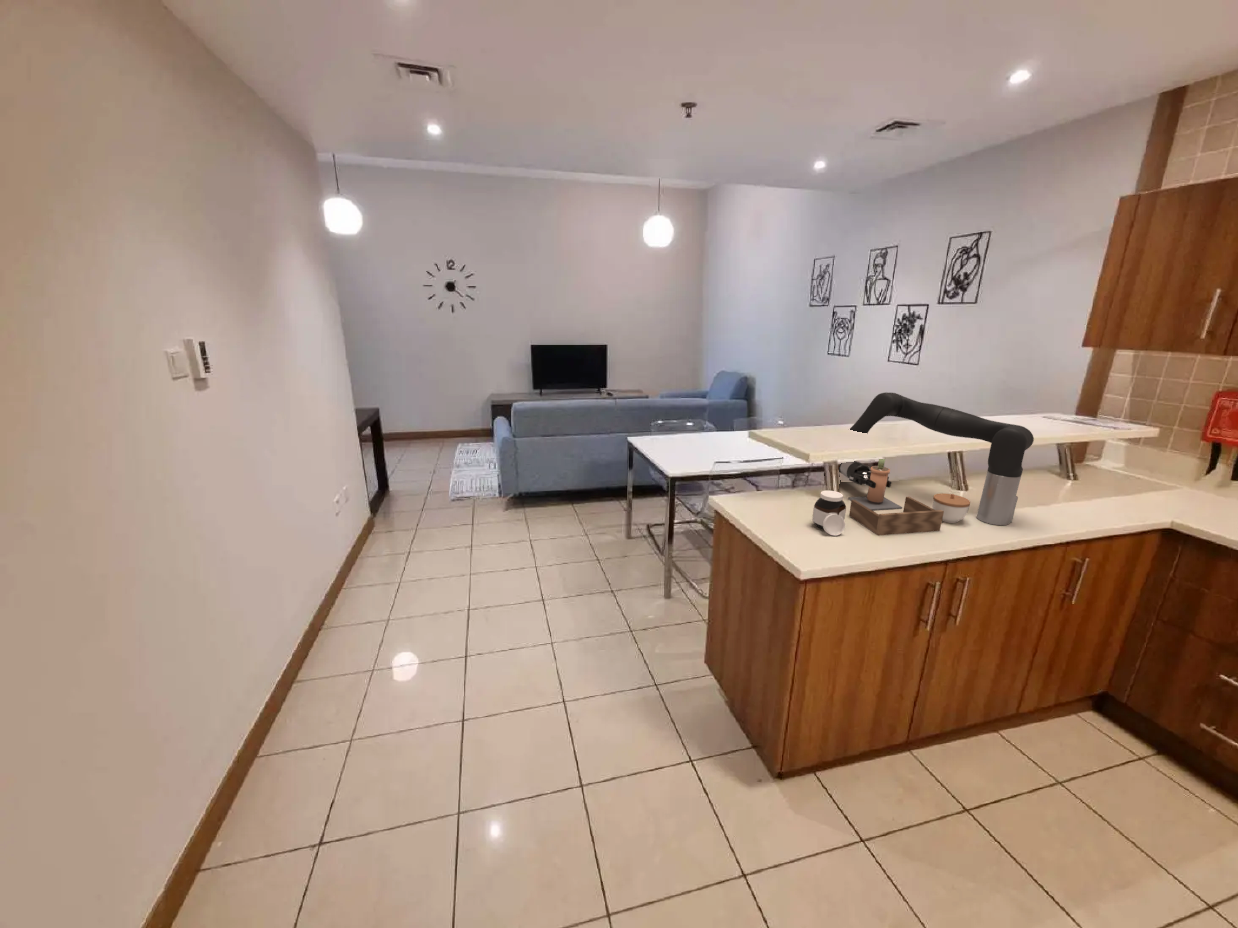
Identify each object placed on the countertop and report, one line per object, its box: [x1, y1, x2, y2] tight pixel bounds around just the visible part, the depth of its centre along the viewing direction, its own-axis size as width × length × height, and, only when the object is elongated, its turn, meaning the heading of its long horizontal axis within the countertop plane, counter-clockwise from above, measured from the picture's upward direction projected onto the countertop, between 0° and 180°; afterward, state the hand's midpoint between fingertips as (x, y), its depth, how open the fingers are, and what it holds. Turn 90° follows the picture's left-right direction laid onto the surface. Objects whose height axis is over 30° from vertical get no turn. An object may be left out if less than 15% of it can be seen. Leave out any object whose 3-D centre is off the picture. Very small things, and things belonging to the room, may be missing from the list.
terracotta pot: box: [867, 458, 891, 502], centre depth 184 cm, size 6×6×17 cm
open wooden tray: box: [848, 496, 944, 536], centre depth 170 cm, size 22×16×7 cm
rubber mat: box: [847, 496, 903, 512], centre depth 187 cm, size 14×12×1 cm
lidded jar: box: [931, 492, 971, 524], centre depth 173 cm, size 11×11×9 cm
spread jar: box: [811, 490, 847, 537], centre depth 165 cm, size 12×11×12 cm
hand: (882, 485), depth 183 cm, fingers closed on terracotta pot, 5 cm apart
